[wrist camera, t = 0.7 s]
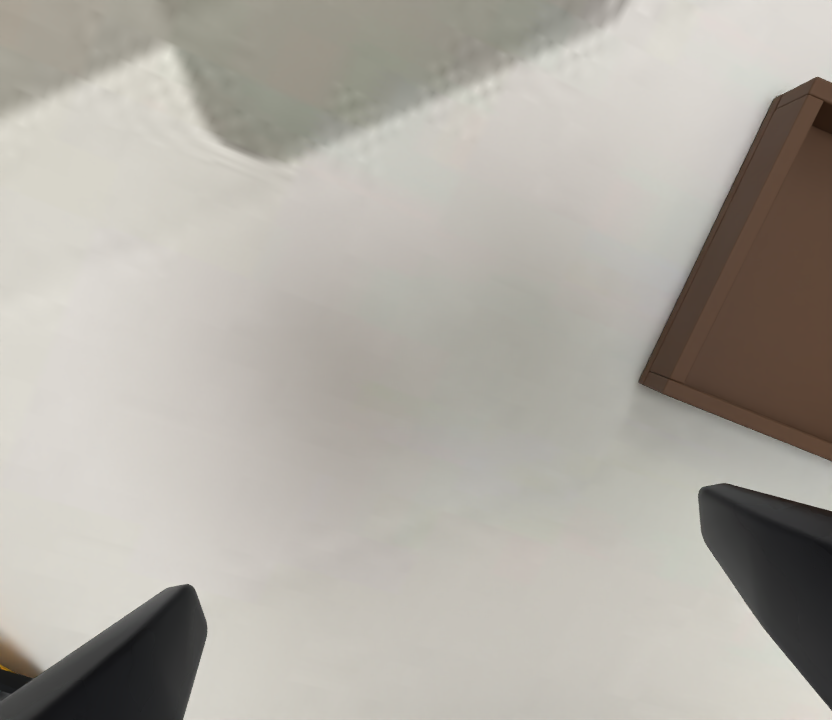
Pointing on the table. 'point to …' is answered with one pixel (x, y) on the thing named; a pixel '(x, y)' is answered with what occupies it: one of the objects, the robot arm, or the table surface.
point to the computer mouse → (10, 682)
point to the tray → (764, 288)
